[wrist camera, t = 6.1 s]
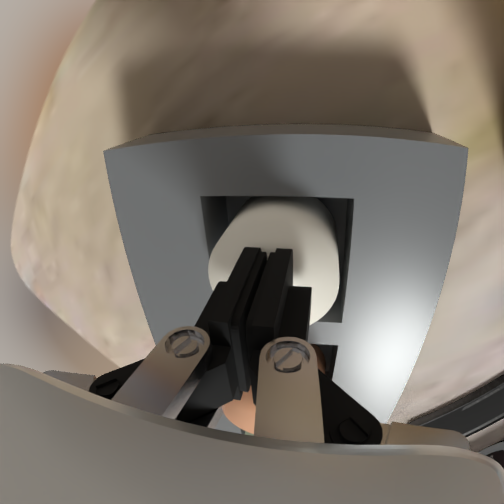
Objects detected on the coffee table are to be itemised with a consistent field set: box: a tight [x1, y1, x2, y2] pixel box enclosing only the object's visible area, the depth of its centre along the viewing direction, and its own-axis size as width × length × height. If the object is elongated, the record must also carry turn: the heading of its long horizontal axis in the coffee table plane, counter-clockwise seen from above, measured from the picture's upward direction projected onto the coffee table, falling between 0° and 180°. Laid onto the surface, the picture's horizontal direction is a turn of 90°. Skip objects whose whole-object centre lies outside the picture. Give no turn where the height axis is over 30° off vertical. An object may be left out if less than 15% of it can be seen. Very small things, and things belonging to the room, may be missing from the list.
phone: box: [409, 375, 504, 437], centre depth 19 cm, size 8×1×15 cm
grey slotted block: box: [103, 124, 468, 434], centre depth 17 cm, size 24×14×4 cm, turn 4°
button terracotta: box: [224, 344, 326, 434], centre depth 15 cm, size 5×5×4 cm
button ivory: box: [208, 196, 339, 325], centre depth 13 cm, size 5×5×4 cm
